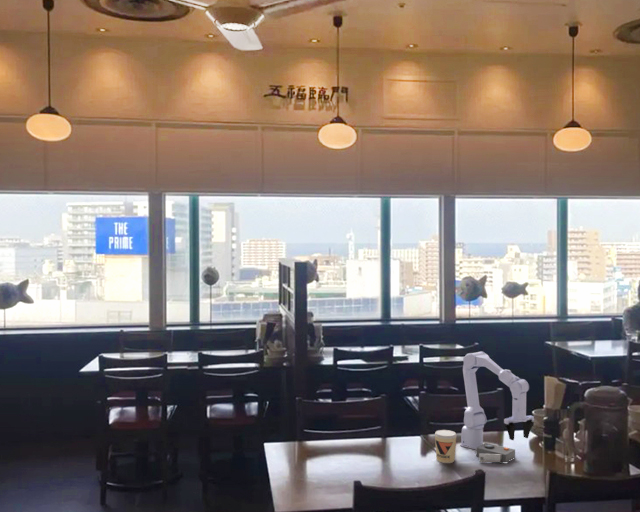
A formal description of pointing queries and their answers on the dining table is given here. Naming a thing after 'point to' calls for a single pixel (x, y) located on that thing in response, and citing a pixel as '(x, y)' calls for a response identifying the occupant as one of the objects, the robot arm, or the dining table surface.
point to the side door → (490, 457)
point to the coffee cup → (445, 445)
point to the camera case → (496, 451)
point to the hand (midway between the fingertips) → (518, 438)
